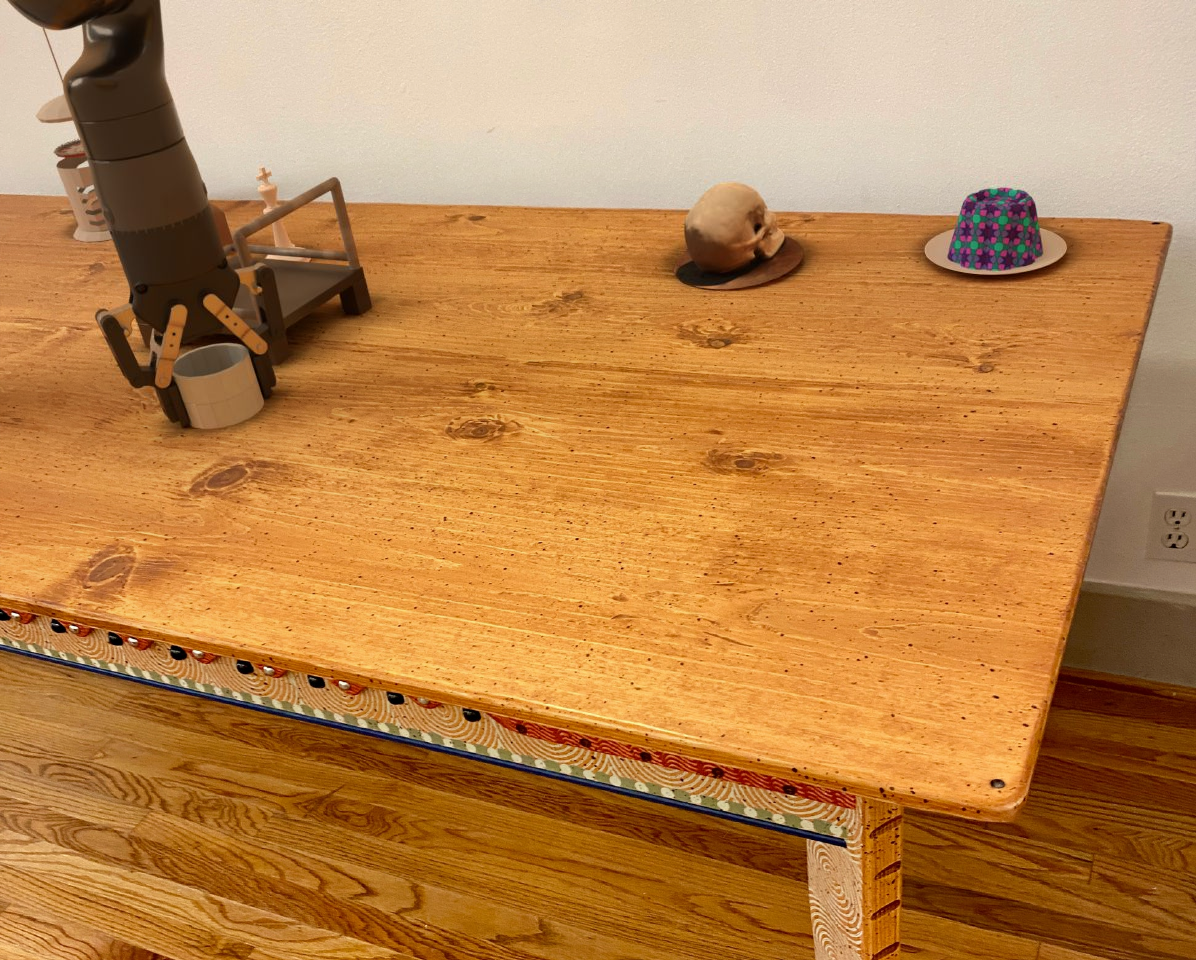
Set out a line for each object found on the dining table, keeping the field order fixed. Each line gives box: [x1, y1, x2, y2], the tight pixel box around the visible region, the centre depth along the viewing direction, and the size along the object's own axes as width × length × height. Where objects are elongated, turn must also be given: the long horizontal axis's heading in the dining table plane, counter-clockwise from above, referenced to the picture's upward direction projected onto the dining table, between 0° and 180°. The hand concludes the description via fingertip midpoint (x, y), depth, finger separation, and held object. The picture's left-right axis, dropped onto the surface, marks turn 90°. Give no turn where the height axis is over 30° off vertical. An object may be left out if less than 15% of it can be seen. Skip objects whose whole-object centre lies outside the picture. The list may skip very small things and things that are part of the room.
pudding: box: [924, 187, 1068, 276], centre depth 106 cm, size 12×12×5 cm
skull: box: [673, 181, 804, 290], centre depth 111 cm, size 12×10×10 cm
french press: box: [35, 28, 112, 243], centre depth 139 cm, size 10×12×25 cm
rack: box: [134, 176, 373, 367], centre depth 110 cm, size 16×14×12 cm
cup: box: [171, 342, 265, 430], centre depth 98 cm, size 6×6×5 cm
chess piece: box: [255, 166, 312, 262], centre depth 125 cm, size 5×5×10 cm
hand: (224, 407), depth 99 cm, fingers closed on cup, 6 cm apart
